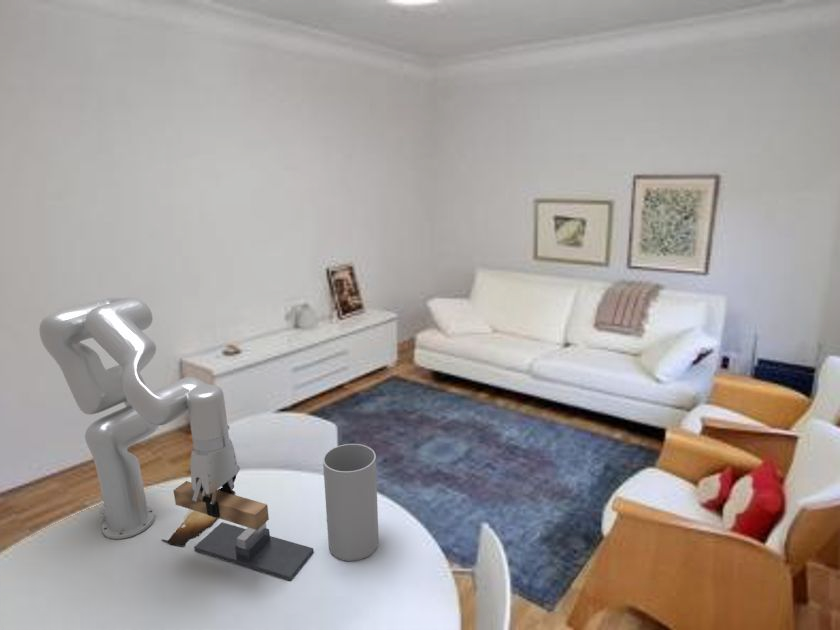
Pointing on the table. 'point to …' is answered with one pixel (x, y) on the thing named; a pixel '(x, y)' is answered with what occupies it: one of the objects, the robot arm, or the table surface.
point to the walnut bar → (226, 506)
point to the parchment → (191, 527)
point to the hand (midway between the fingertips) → (221, 509)
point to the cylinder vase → (351, 501)
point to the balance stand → (255, 550)
